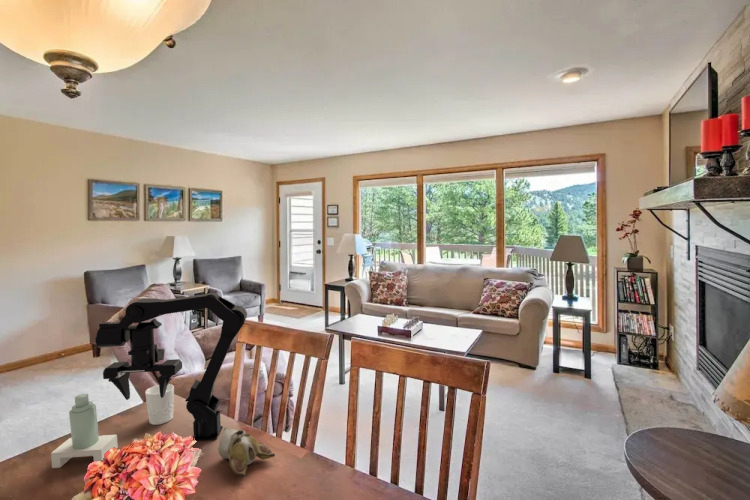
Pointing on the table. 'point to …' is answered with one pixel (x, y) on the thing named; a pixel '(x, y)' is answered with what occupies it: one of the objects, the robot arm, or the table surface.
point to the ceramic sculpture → (241, 450)
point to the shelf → (83, 450)
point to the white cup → (160, 404)
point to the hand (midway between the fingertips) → (145, 398)
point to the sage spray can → (83, 423)
